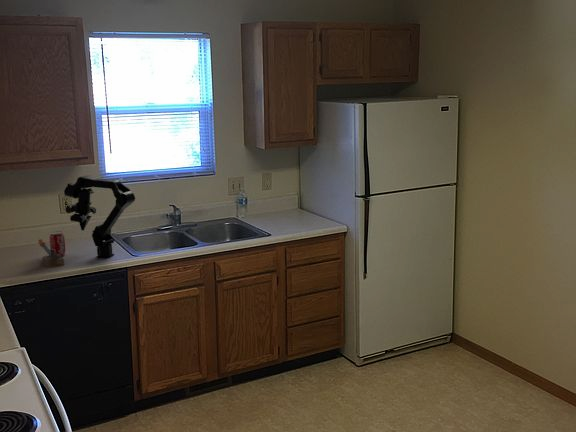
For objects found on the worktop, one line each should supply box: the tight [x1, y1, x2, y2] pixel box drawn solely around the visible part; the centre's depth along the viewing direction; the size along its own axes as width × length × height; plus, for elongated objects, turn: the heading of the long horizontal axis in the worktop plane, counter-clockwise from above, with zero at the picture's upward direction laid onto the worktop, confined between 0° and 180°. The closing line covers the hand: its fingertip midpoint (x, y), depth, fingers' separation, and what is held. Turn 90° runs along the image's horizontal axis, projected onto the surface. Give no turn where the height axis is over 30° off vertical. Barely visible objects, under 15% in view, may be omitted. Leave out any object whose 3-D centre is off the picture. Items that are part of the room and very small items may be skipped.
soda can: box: [49, 230, 67, 257], centre depth 322 cm, size 7×7×12 cm
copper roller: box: [37, 238, 52, 259], centre depth 307 cm, size 2×6×10 cm
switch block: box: [42, 249, 65, 268], centre depth 309 cm, size 8×10×6 cm
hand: (82, 230), depth 324 cm, fingers closed
